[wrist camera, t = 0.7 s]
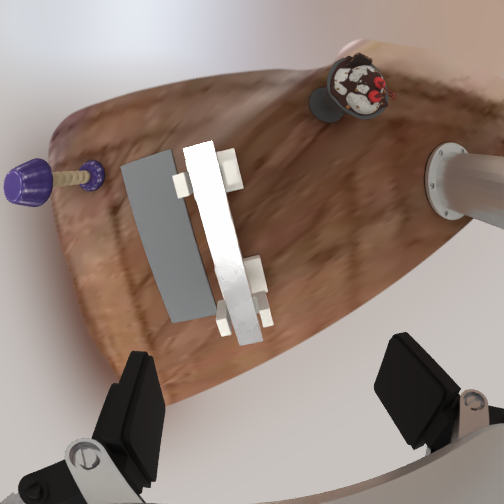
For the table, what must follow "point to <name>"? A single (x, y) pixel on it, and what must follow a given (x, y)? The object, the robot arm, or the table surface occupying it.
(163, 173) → the mat
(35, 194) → the toy lamp
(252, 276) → the rack
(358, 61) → the sundae
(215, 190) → the rail
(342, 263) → the table surface
